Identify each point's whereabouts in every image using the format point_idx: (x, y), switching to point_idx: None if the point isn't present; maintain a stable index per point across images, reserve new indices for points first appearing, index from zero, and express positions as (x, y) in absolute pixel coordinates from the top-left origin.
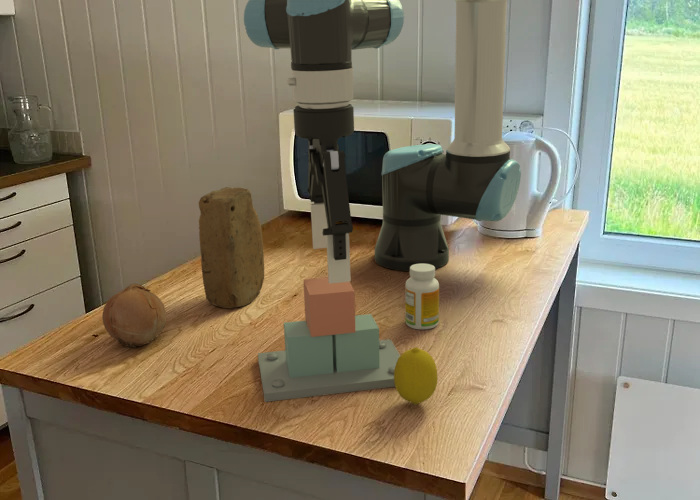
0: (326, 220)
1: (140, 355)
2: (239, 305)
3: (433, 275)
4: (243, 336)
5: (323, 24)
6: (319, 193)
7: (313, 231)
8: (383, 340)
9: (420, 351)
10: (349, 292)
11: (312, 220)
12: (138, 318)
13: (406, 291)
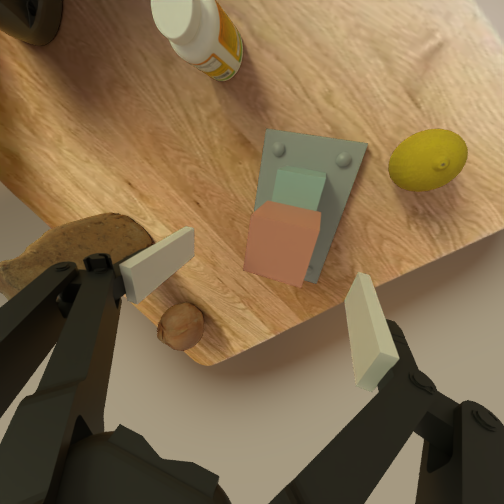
0: (161, 258)
1: (213, 317)
2: (150, 240)
3: None
4: (203, 254)
5: None
6: (114, 310)
7: (175, 269)
8: (266, 139)
9: (449, 158)
10: (316, 237)
11: (161, 282)
12: (197, 335)
13: (198, 65)
